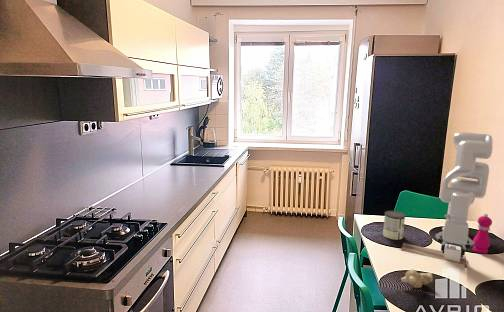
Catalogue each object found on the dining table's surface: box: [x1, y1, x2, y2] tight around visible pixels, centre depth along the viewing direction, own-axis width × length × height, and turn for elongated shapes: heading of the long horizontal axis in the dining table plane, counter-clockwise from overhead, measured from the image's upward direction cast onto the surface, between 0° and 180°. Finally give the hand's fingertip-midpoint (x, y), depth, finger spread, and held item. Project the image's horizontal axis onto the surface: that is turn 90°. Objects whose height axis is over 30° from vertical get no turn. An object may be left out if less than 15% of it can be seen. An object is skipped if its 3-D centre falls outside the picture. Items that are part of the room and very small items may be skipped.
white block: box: [444, 243, 462, 262], centre depth 165 cm, size 6×6×5 cm
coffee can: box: [382, 210, 406, 241], centre depth 188 cm, size 10×10×14 cm
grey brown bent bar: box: [400, 242, 468, 269], centre depth 169 cm, size 10×28×2 cm, turn 61°
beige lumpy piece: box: [400, 269, 434, 289], centre depth 141 cm, size 8×7×12 cm
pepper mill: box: [472, 213, 493, 255], centre depth 175 cm, size 7×7×20 cm
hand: (452, 254), depth 165 cm, fingers open, 7 cm apart
